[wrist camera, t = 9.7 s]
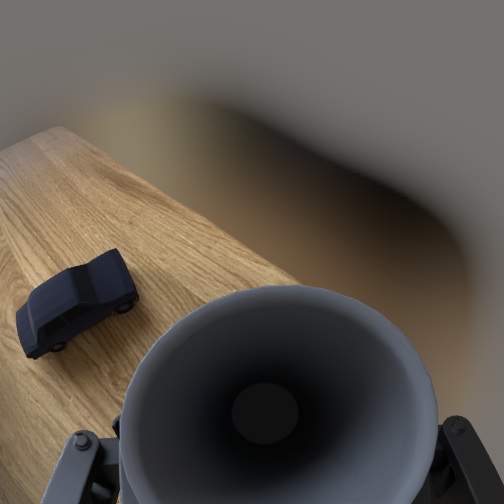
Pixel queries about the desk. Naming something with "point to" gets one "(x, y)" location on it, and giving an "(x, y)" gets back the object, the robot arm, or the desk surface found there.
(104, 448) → the robot arm
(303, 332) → the cup
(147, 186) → the desk surface
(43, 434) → the desk surface
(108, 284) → the toy car
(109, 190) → the desk surface
